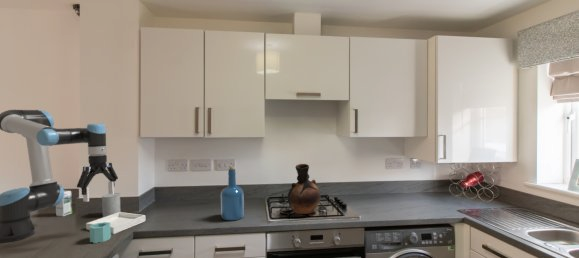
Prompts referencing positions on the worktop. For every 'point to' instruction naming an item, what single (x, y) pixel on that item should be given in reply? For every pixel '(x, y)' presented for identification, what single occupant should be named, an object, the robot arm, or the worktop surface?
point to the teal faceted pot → (100, 232)
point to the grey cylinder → (110, 204)
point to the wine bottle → (232, 199)
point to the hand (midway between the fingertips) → (99, 197)
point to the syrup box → (64, 205)
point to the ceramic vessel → (303, 192)
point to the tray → (119, 221)
